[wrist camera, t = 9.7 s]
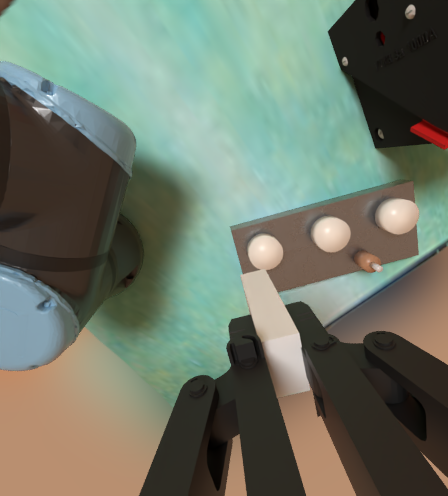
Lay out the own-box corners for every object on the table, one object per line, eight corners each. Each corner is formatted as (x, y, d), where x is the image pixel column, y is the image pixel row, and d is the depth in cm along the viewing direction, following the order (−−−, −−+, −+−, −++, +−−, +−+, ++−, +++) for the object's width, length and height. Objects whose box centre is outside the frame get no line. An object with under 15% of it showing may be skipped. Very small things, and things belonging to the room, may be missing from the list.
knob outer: (366, 229, 47) (386, 238, 42) (362, 200, 45) (382, 205, 40) (396, 221, 47) (420, 229, 41) (393, 191, 45) (417, 195, 40)
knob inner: (248, 261, 48) (253, 273, 42) (241, 233, 46) (245, 242, 41) (278, 253, 47) (286, 265, 42) (271, 225, 46) (279, 233, 41)
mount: (247, 291, 50) (249, 299, 47) (230, 226, 46) (231, 230, 43) (406, 249, 49) (418, 254, 46) (400, 179, 45) (413, 180, 42)
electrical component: (427, 122, 43) (600, 89, 24) (363, 154, 44) (481, 147, 25) (393, -6, 38) (577, -176, 19) (323, 34, 39) (430, -90, 20)
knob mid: (307, 245, 47) (319, 256, 42) (301, 217, 46) (313, 224, 40) (336, 237, 47) (352, 247, 42) (332, 208, 46) (348, 214, 40)
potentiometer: (355, 267, 46) (371, 279, 41) (352, 252, 45) (369, 263, 40) (370, 263, 46) (389, 274, 41) (369, 248, 45) (387, 258, 40)
